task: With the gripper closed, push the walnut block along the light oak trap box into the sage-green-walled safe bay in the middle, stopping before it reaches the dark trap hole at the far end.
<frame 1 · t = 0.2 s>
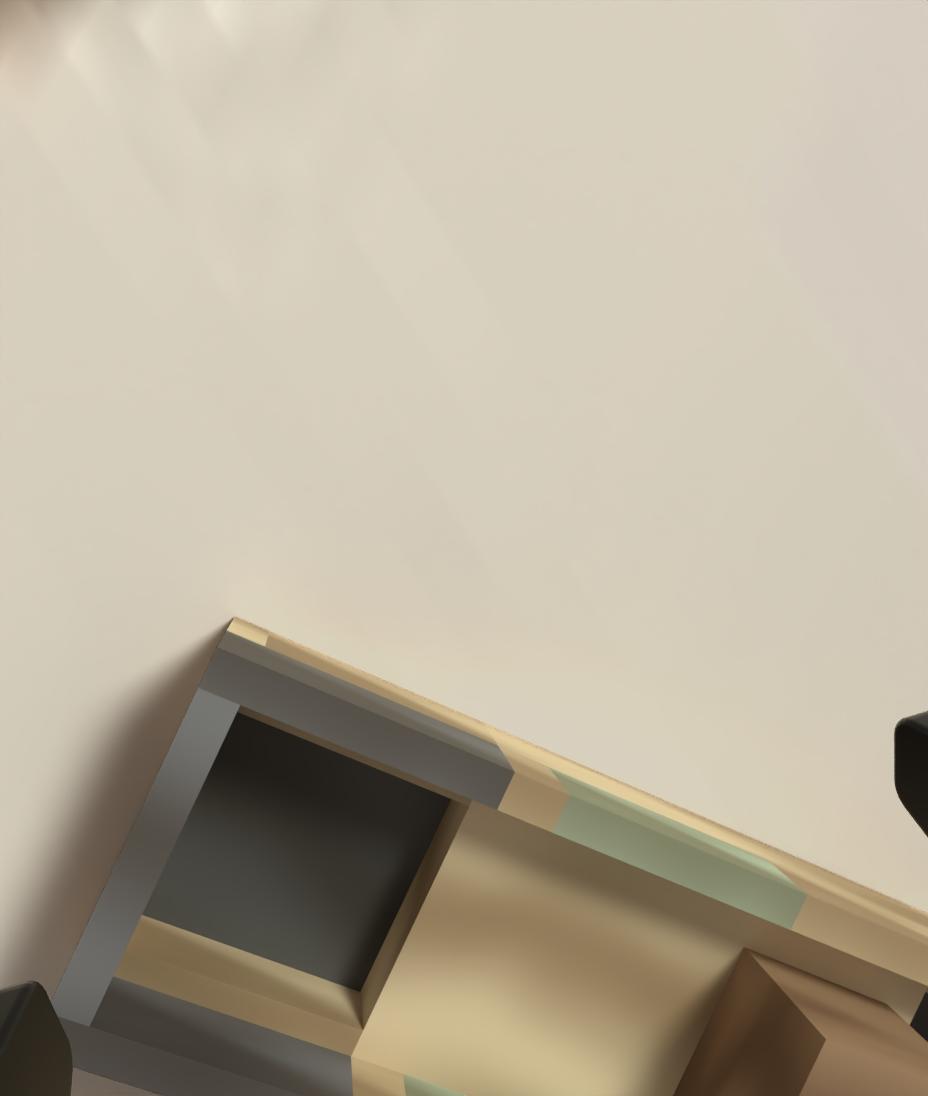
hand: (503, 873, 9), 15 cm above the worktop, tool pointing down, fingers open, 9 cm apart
trap box: (634, 969, 26), on the worktop
walnut block: (779, 1054, 25), point 2 cm above the worktop, touching trap box
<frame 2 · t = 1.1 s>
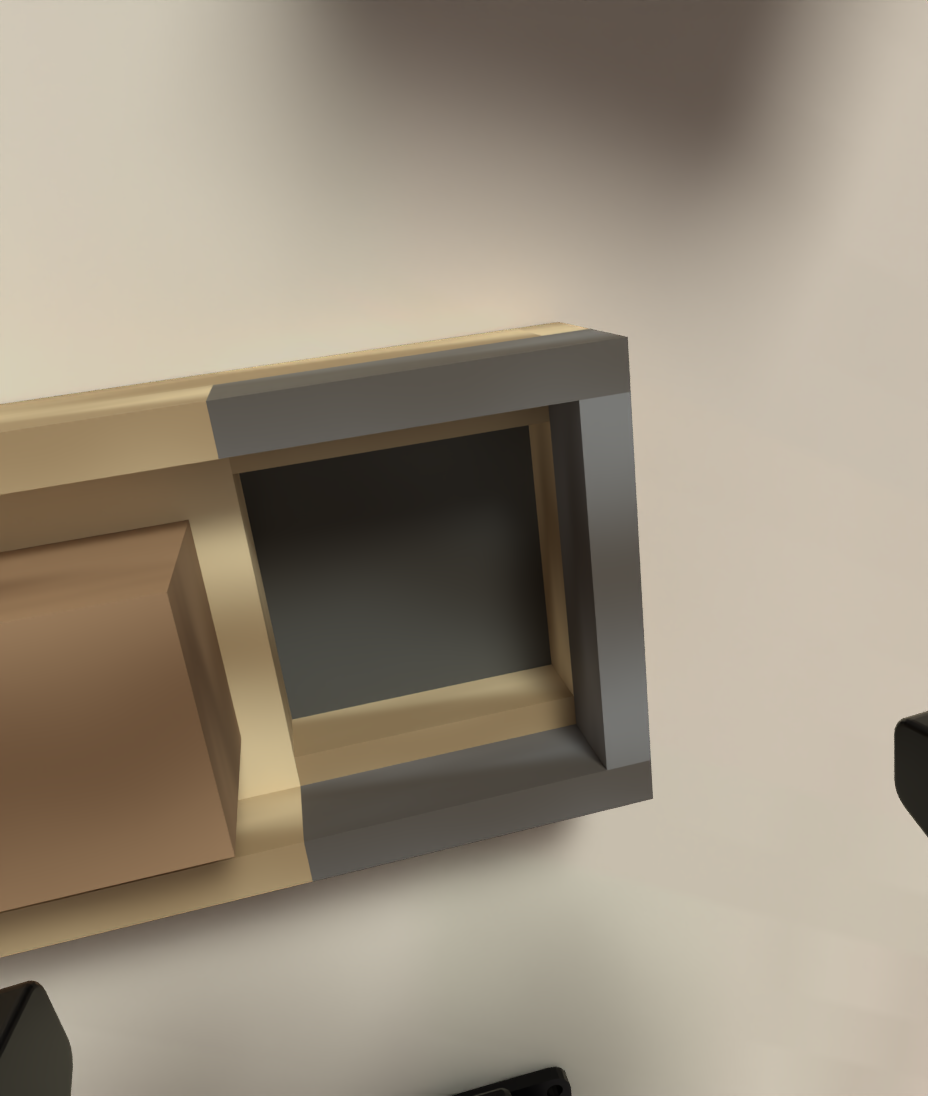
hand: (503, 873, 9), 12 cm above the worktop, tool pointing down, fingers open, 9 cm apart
walnut block: (90, 658, 17), point 2 cm above the worktop, touching trap box
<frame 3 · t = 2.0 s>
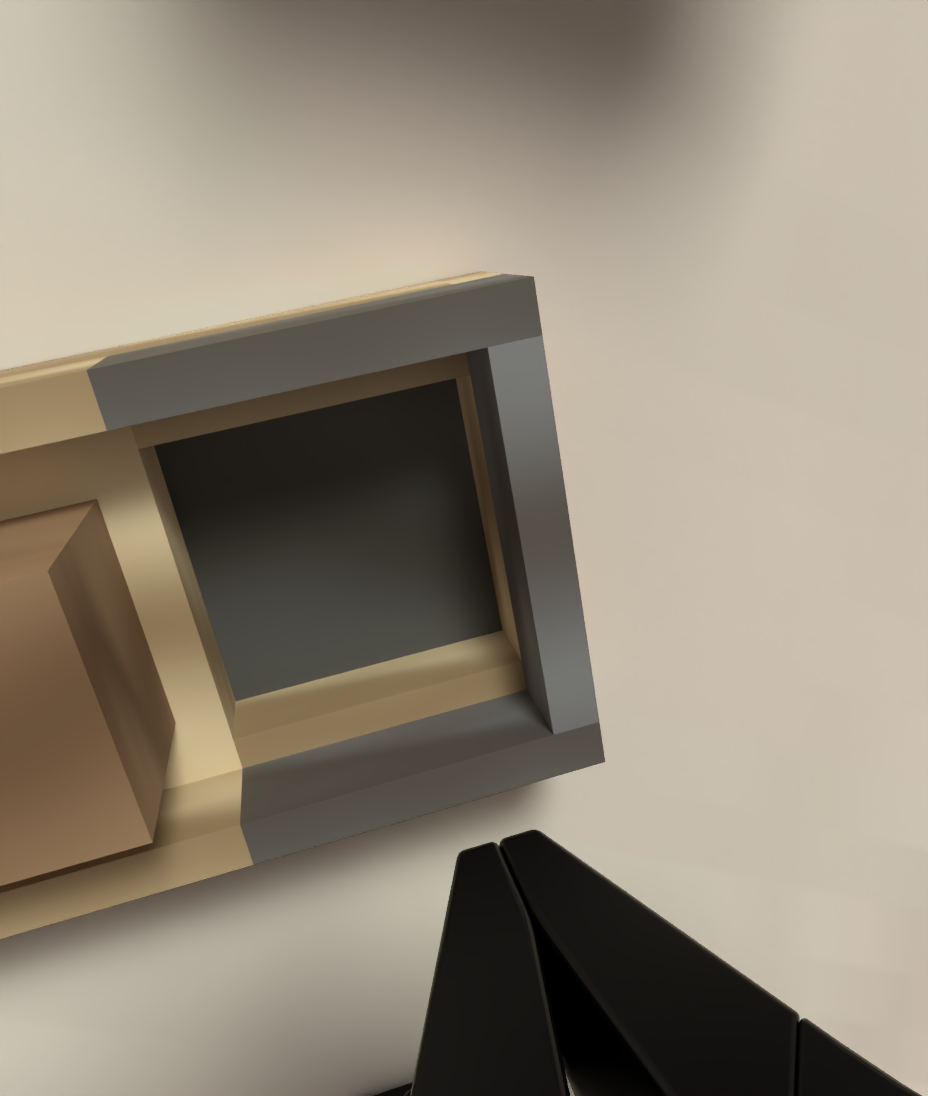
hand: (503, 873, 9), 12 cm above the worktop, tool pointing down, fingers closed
walnut block: (8, 648, 17), point 2 cm above the worktop, touching trap box
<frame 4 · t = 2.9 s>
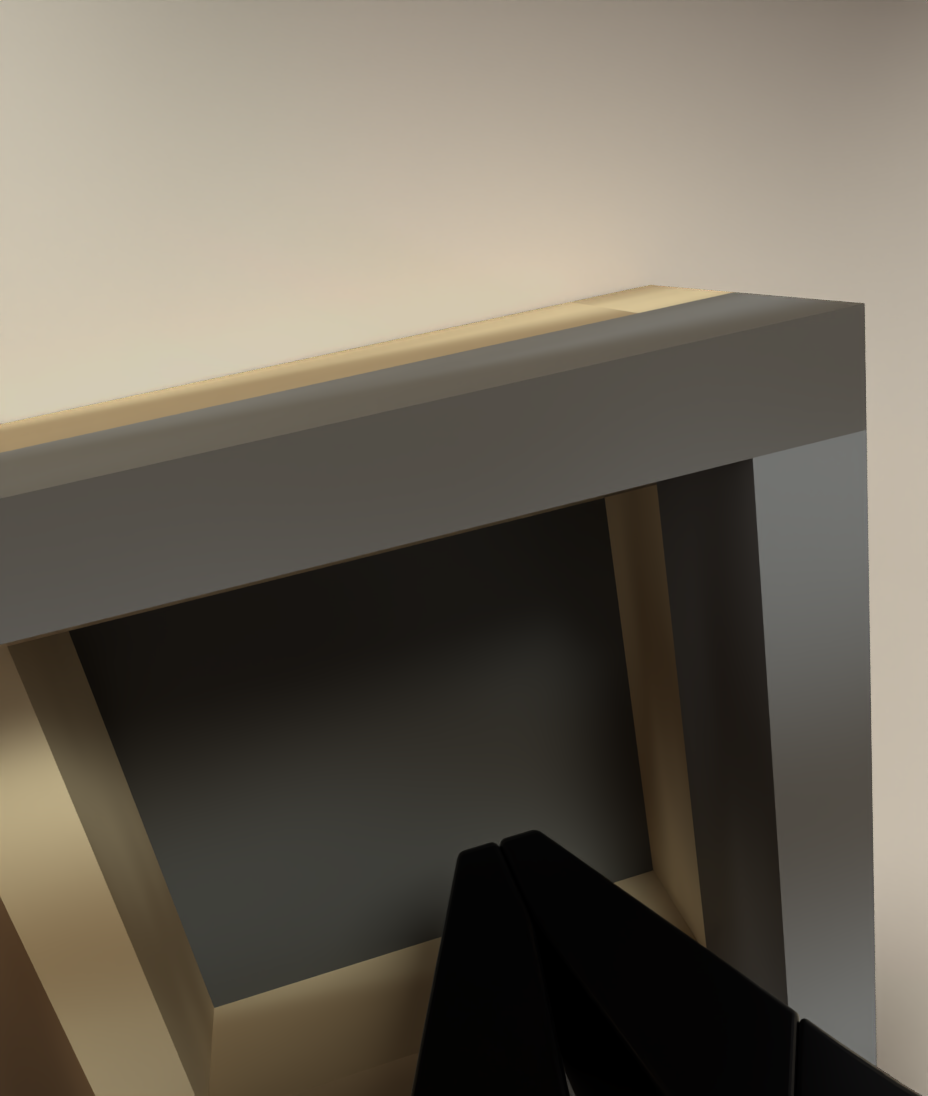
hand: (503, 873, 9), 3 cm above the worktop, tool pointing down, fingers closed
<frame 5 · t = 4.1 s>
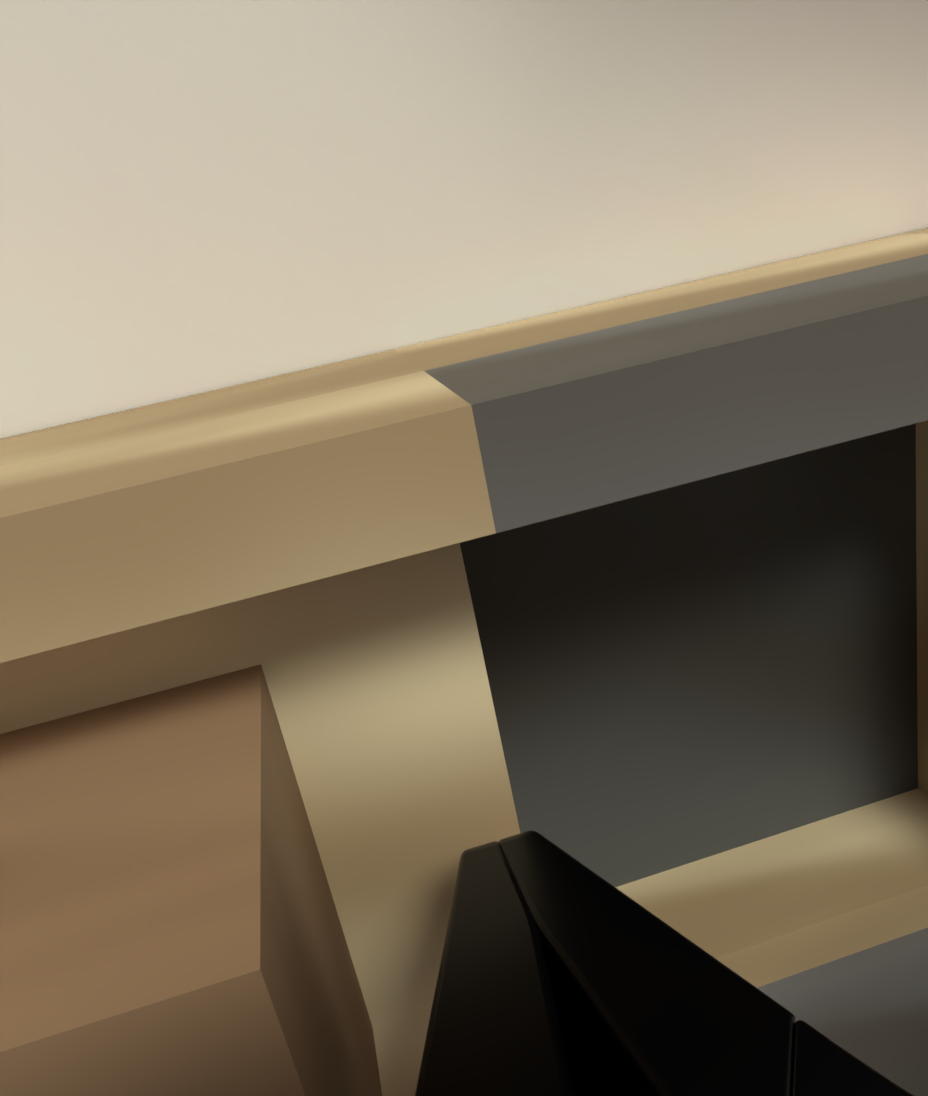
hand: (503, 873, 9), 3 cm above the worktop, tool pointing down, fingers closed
walnut block: (90, 931, 9), point 2 cm above the worktop, touching gripper, trap box
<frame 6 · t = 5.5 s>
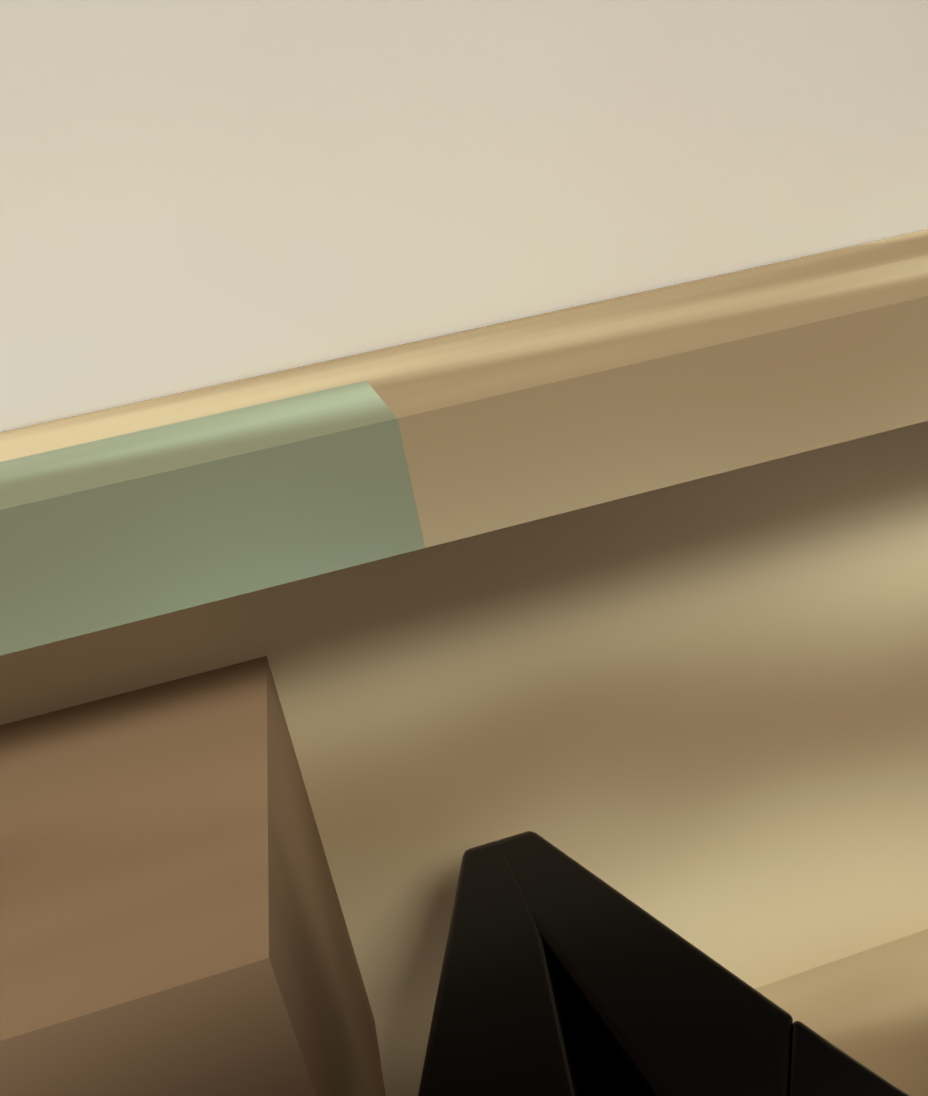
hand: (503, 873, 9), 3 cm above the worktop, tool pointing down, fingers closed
trap box: (359, 749, 11), on the worktop
walnut block: (93, 924, 9), point 2 cm above the worktop, touching gripper, trap box
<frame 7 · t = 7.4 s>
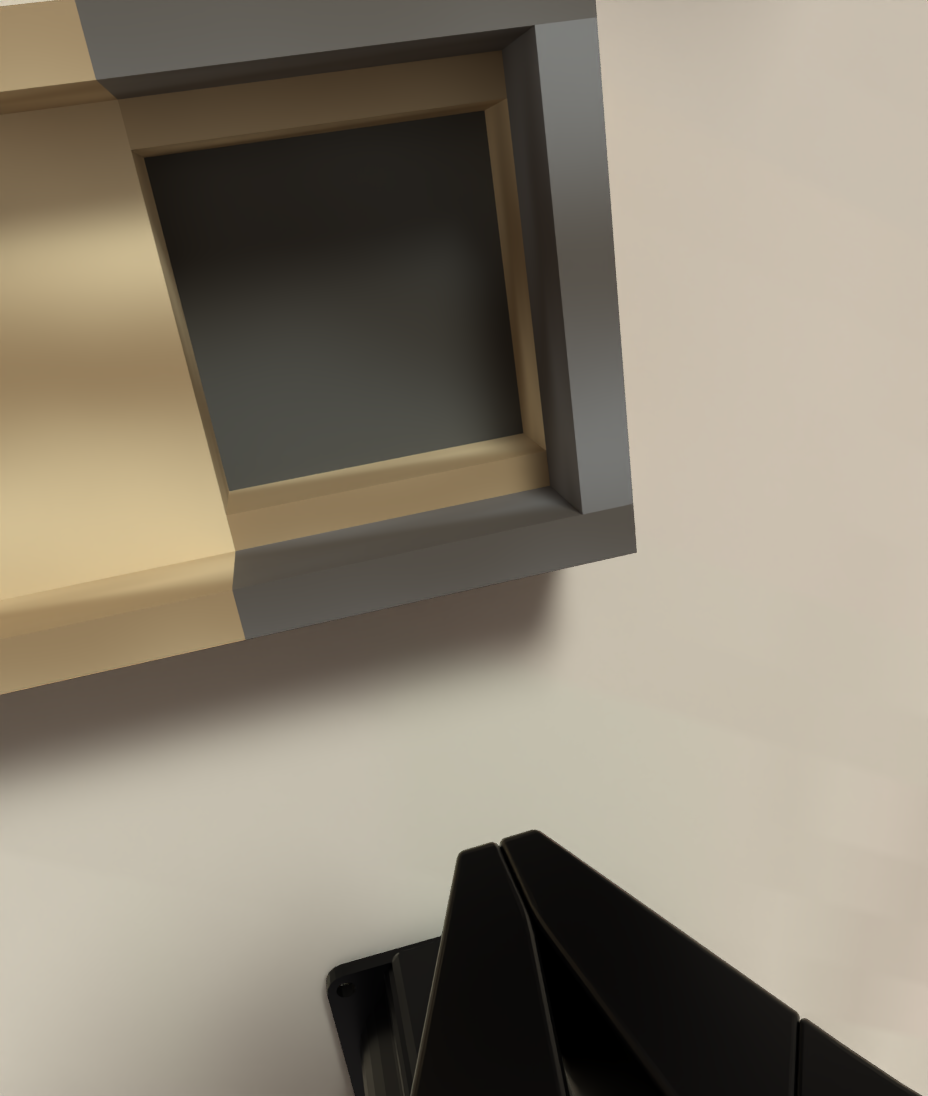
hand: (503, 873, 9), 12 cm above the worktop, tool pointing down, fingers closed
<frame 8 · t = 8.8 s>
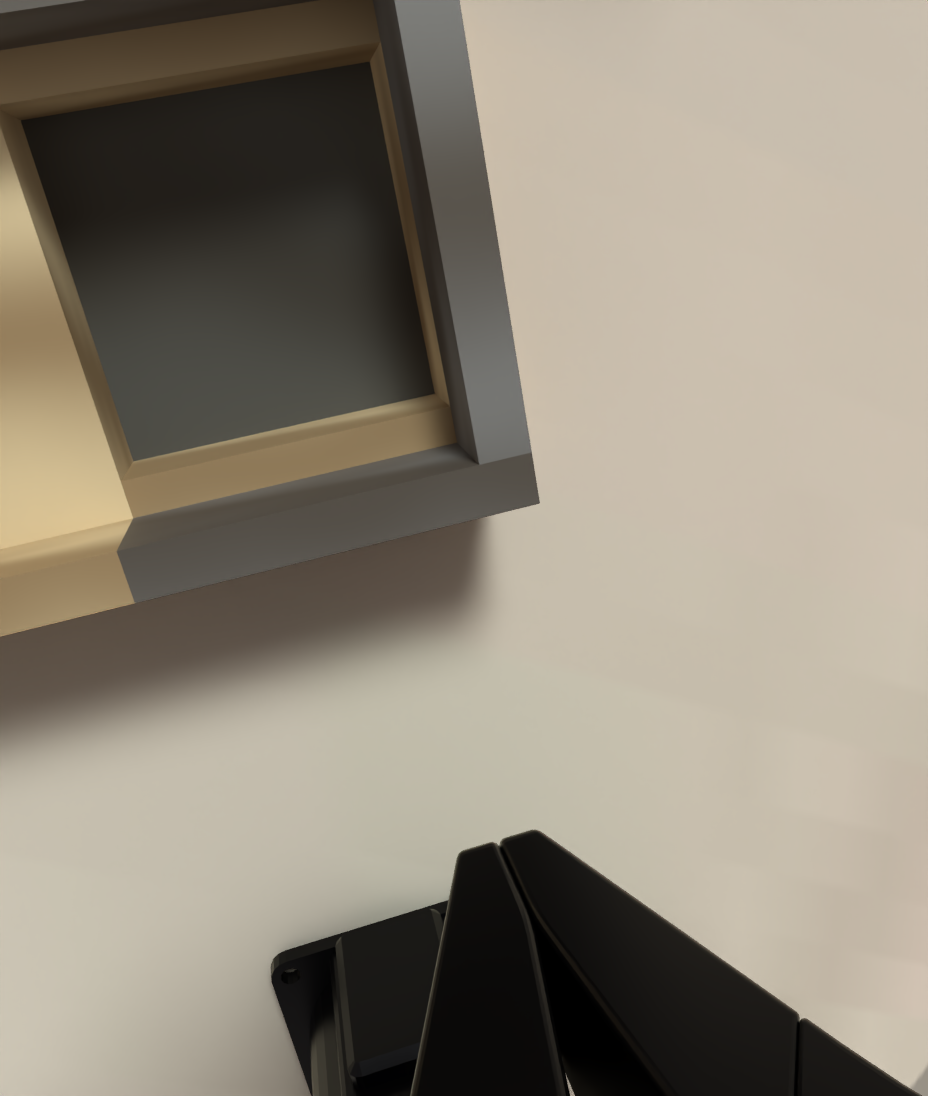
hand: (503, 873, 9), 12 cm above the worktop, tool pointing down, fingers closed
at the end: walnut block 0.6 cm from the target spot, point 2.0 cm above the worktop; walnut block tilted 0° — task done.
